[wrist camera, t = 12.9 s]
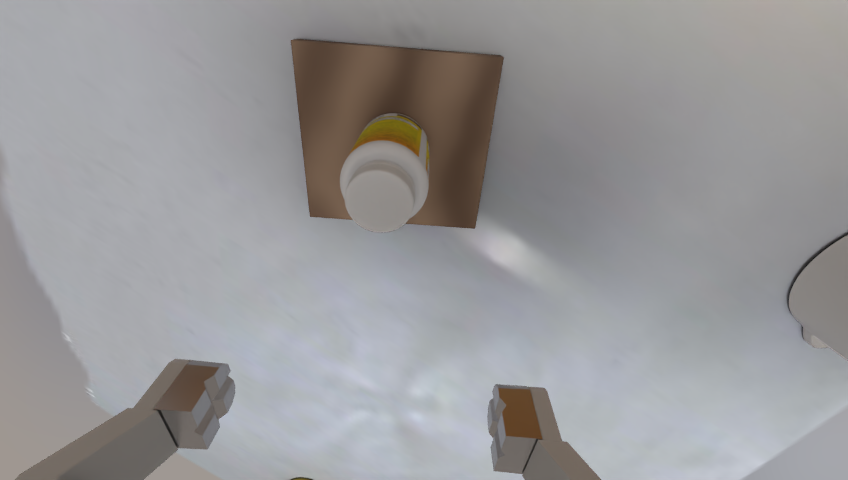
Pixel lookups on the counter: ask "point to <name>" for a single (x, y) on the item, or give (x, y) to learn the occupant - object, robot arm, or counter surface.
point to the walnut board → (403, 94)
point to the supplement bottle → (386, 173)
